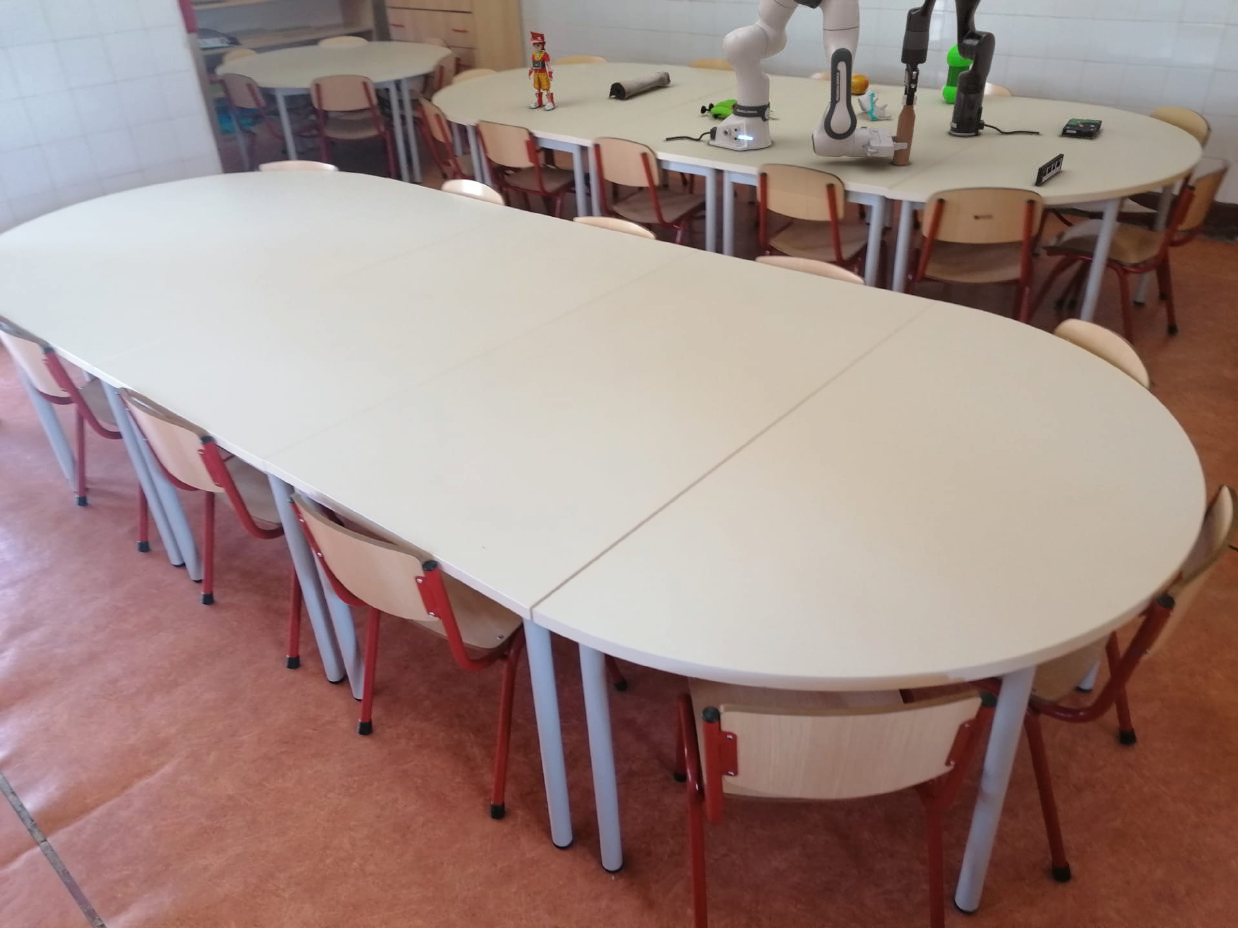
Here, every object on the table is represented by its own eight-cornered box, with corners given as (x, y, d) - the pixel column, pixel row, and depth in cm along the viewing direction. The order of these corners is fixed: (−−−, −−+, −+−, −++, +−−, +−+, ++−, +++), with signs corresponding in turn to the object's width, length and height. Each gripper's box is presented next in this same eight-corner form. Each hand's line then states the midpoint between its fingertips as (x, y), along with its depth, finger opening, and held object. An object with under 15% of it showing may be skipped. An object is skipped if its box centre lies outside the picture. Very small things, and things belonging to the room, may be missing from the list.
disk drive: (1093, 139, 305) (1100, 128, 315) (1095, 131, 303) (1102, 120, 313) (1060, 136, 309) (1068, 125, 319) (1062, 128, 308) (1070, 117, 318)
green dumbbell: (973, 101, 354) (984, 32, 339) (955, 106, 349) (966, 36, 335) (952, 97, 361) (962, 29, 346) (934, 102, 356) (944, 33, 342)
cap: (899, 104, 284) (900, 97, 282) (904, 101, 287) (905, 94, 285) (913, 106, 282) (914, 98, 280) (918, 103, 284) (919, 95, 283)
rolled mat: (651, 76, 408) (662, 61, 399) (662, 93, 408) (674, 79, 400) (605, 92, 391) (616, 77, 383) (617, 110, 391) (628, 95, 383)
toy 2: (691, 117, 351) (761, 130, 338) (692, 103, 348) (762, 116, 335) (722, 107, 371) (789, 118, 359) (724, 93, 368) (791, 105, 356)
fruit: (842, 86, 371) (854, 68, 368) (844, 90, 378) (856, 72, 375) (859, 97, 369) (871, 79, 366) (861, 100, 377) (873, 83, 374)
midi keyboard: (1039, 185, 269) (1043, 168, 266) (1035, 184, 270) (1038, 168, 267) (1060, 170, 279) (1064, 154, 277) (1056, 169, 280) (1060, 153, 277)
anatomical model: (852, 89, 345) (878, 82, 344) (855, 116, 351) (880, 109, 350) (864, 98, 333) (891, 91, 332) (866, 126, 338) (893, 119, 338)
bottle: (889, 163, 294) (898, 99, 283) (896, 159, 298) (905, 96, 286) (904, 166, 292) (913, 101, 280) (911, 162, 295) (920, 98, 283)
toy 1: (525, 109, 381) (517, 32, 364) (534, 104, 388) (527, 28, 371) (550, 110, 377) (543, 32, 360) (559, 105, 384) (553, 28, 367)
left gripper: (865, 142, 283) (910, 141, 281) (861, 125, 299) (904, 124, 297) (863, 162, 286) (907, 161, 284) (859, 144, 303) (902, 143, 301)
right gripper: (930, 50, 268) (922, 108, 278) (925, 41, 280) (918, 97, 289) (904, 51, 269) (897, 108, 279) (900, 42, 281) (894, 97, 290)
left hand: (906, 142), depth 291 cm, fingers closed on bottle, 5 cm apart
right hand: (908, 102), depth 284 cm, fingers open, 7 cm apart
